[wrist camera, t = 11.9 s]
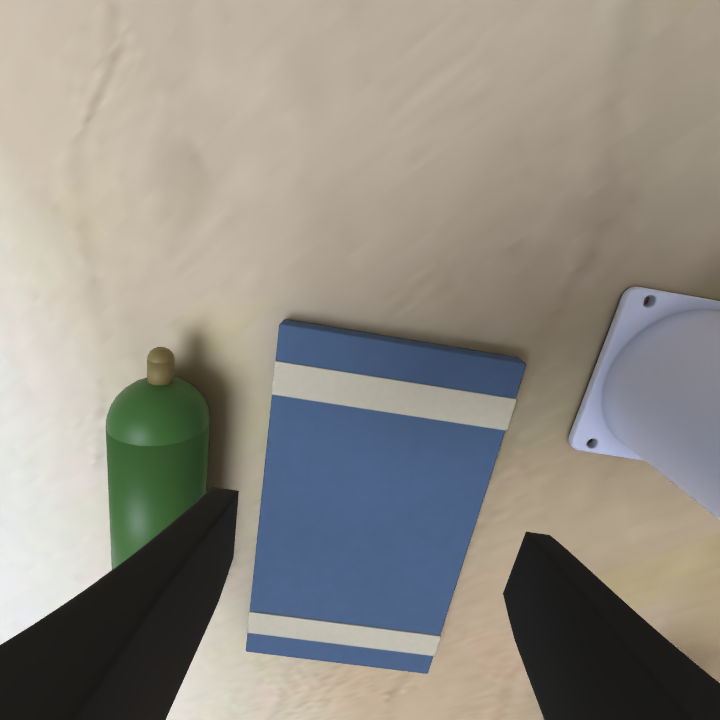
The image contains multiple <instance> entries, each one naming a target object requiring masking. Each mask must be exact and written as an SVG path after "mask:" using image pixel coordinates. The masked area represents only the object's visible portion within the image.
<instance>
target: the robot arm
mask: <svg viewBox="0 0 720 720" xmlns="http://www.w3.org/2000/svg"><path fill="white" fill-rule="evenodd" d="M647 296H649V301H648V303H647V304H646V305H644V304H643V301H644V299H645V297H647ZM590 439H593V441H592V442H591V443H589V444H587V442H588V441H589V440H590ZM568 441H569V444H570V445H571V446H572V447H573V448H574V449H576V450H579V451H586V452H592V453H599V454H605V455H612V456H618V457H625V458H631V459H638V460H644V461H646V462H647V463H648V464H649V465H651V466H652V467H653V468H655V469H656V470H657V471H658V472H660V473H661V474H662V475H663V476H665V477H666V478H667V479H668V480H670V481H671V482H672V483H673V484H675V485H676V486H677V487H678V488H680V489H681V490H682V491H683V492H685V493H686V494H687V495H688V496H690V497H691V498H692V499H693V500H695V501H696V502H697V503H698V504H700V505H701V506H702V507H703V508H705V509H706V510H707V511H708V512H710V513H711V514H712V515H714V516H715V517H716V518H717V519H719V520H720V301H717V300H711V299H705V298H700V297H694V296H688V295H683V294H677V293H671V292H665V291H660V290H654V289H648V288H643V287H631V288H629V289H627V290H626V291H625V292H624V294H623V295H622V298H621V300H620V303H619V306H618V308H617V311H616V313H615V316H614V319H613V321H612V324H611V327H610V329H609V332H608V335H607V337H606V340H605V342H604V345H603V348H602V350H601V353H600V356H599V358H598V361H597V364H596V366H595V369H594V371H593V374H592V377H591V379H590V382H589V385H588V387H587V390H586V393H585V395H584V398H583V400H582V403H581V406H580V408H579V411H578V414H577V416H576V419H575V422H574V424H573V427H572V430H571V432H570V435H569V438H568ZM238 493H239V491H236V490H229V489H222V488H215V487H213V488H212V489H210V490H209V491H208V492H206V493H205V494H204V495H203V496H202V497H201V498H200V499H199V500H197V501H196V502H195V503H194V504H193V505H192V506H191V507H190V508H188V509H187V510H186V511H185V512H184V513H183V514H181V515H180V516H179V517H178V518H177V519H176V520H174V521H173V522H172V523H171V524H170V525H169V526H167V527H166V528H165V529H164V530H163V531H161V532H160V533H159V534H158V535H156V536H155V537H154V538H153V539H151V540H150V541H149V542H148V543H147V544H145V545H144V546H143V547H142V548H140V549H139V550H138V551H137V552H135V553H134V554H133V555H132V556H130V557H129V558H128V559H126V560H125V561H124V562H122V563H121V564H120V565H118V566H117V567H115V568H114V569H113V570H111V571H110V572H109V573H107V574H106V575H105V576H103V577H102V578H101V579H99V580H98V581H97V582H95V583H94V584H93V585H91V586H90V587H88V588H87V589H86V590H84V591H83V592H81V593H80V594H78V595H77V596H76V597H74V598H73V599H71V600H70V601H68V602H67V603H65V604H64V605H62V606H61V607H59V608H58V609H56V610H55V611H53V612H52V613H50V614H49V615H47V616H46V617H44V618H43V619H41V620H40V621H38V622H37V623H35V624H34V625H32V626H30V627H29V628H27V629H26V630H24V631H22V632H21V633H19V634H18V635H16V636H14V637H13V638H11V639H9V640H8V641H6V642H4V643H3V644H1V645H0V720H166V717H167V715H168V713H169V711H170V708H171V706H172V704H173V702H174V700H175V697H176V695H177V693H178V691H179V688H180V686H181V684H182V682H183V680H184V677H185V675H186V673H187V671H188V669H189V666H190V664H191V662H192V660H193V657H194V655H195V653H196V651H197V649H198V646H199V644H200V642H201V640H202V637H203V635H204V633H205V631H206V629H207V626H208V624H209V622H210V620H211V617H212V615H213V613H214V611H215V608H216V606H217V604H218V601H219V599H220V596H221V593H222V590H223V587H224V584H225V581H226V578H227V575H228V572H229V569H230V566H231V563H232V560H233V555H234V542H235V530H236V517H237V505H238ZM503 595H504V599H505V603H506V607H507V612H508V616H509V620H510V624H511V627H512V631H513V635H514V639H515V642H516V644H517V647H518V650H519V653H520V655H521V658H522V661H523V664H524V666H525V669H526V672H527V674H528V677H529V680H530V682H531V685H532V688H533V690H534V693H535V696H536V698H537V701H538V704H539V706H540V709H541V711H542V714H543V717H544V719H545V720H720V683H719V682H717V681H716V680H715V679H714V678H712V677H711V676H710V675H709V674H707V673H706V672H705V671H704V670H702V669H701V668H700V667H699V666H698V665H696V664H695V663H694V662H693V661H692V660H690V659H689V658H688V657H687V656H686V655H685V654H683V653H682V652H681V651H680V650H679V649H677V648H676V647H675V646H674V645H673V644H671V643H670V642H669V641H668V640H667V639H666V638H664V637H663V636H662V635H661V634H660V633H659V632H657V631H656V630H655V629H654V628H653V627H652V626H651V625H649V624H648V623H647V622H646V621H645V620H644V619H643V618H642V617H640V616H639V615H638V614H637V613H636V612H635V611H634V610H633V609H631V608H630V607H629V606H628V605H627V604H626V603H625V602H624V601H623V600H621V599H620V598H619V597H618V596H617V595H616V594H615V593H614V592H613V591H612V590H611V589H609V588H608V587H607V586H606V585H605V584H604V583H603V582H602V581H601V580H600V579H598V578H597V577H596V576H595V575H594V574H593V573H592V572H591V571H590V570H589V569H588V568H587V567H585V566H584V565H583V564H582V563H581V562H580V561H579V560H578V559H577V558H576V557H574V556H573V555H572V554H571V553H570V552H569V551H568V550H567V549H565V548H564V547H563V546H562V545H561V544H560V543H559V542H557V541H556V540H555V539H554V538H552V537H551V536H550V535H545V534H538V533H531V532H526V533H525V536H524V539H523V541H522V544H521V547H520V550H519V552H518V555H517V558H516V560H515V563H514V566H513V568H512V571H511V574H510V576H509V579H508V582H507V584H506V587H505V590H504V592H503Z"/></svg>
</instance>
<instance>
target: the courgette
mask: <svg viewBox="0 0 720 720" xmlns="http://www.w3.org/2000/svg"><path fill="white" fill-rule="evenodd" d="M174 361H175V359H174V355H173V353H172V352H171V351H170V350H169V349H167V348H165V347H157V348H154V349H153V350H151V351H150V353H149V354H148V357H147V378H144V379H141V380H138V381H136V382H134V383H133V384H131V385H129V386H128V387H126V388H125V389H124V390H123V391H122V392H121V393H120V394H119V395H118V396H117V397H116V398H115V400H114V401H113V403H112V404H111V407H110V409H109V412H108V414H107V420H106V442H107V465H108V489H109V512H110V535H111V558H112V570H113V569H114V568H115V567H117V566H118V565H120V564H121V563H122V562H124V561H125V560H126V559H128V558H129V557H130V556H132V555H133V554H134V553H135V552H137V551H138V550H139V549H140V548H142V547H143V546H144V545H145V544H147V543H148V542H149V541H150V540H151V539H153V538H154V537H155V536H156V535H158V534H159V533H160V532H161V531H163V530H164V529H165V528H166V527H167V526H169V525H170V524H171V523H172V522H173V521H174V520H176V519H177V518H178V517H179V516H180V515H181V514H183V513H184V512H185V511H186V510H187V509H188V508H190V507H191V506H192V505H193V504H194V503H195V502H196V501H197V500H199V499H200V498H201V497H202V496H203V495H204V494H205V493H206V484H207V464H208V444H209V424H210V418H209V409H208V406H207V403H206V401H205V399H204V397H203V396H202V394H201V393H200V392H199V391H198V390H197V389H196V388H195V387H194V386H193V385H191V384H189V383H188V382H186V381H184V380H182V379H179V378H175V377H174Z"/></svg>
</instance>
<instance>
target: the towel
mask: <svg viewBox="0 0 720 720" xmlns="http://www.w3.org/2000/svg"><path fill="white" fill-rule="evenodd" d="M525 367H526V364H525V363H524V362H523V361H522V360H520V359H519V358H518V357H512V356H506V355H500V354H493V353H487V352H481V351H475V350H469V349H463V348H457V347H451V346H445V345H438V344H432V343H426V342H420V341H414V340H408V339H402V338H396V337H390V336H384V335H377V334H371V333H365V332H359V331H353V330H347V329H341V328H335V327H329V326H322V325H316V324H310V323H304V322H298V321H292V320H286V319H285V320H283V321H282V322H281V323H280V325H279V333H278V343H277V353H276V361H275V365H274V375H273V385H272V401H271V411H270V420H269V430H268V440H267V449H266V459H265V469H264V478H263V488H262V498H261V508H260V517H259V527H258V537H257V546H256V556H255V566H254V575H253V585H252V595H251V604H250V611H249V619H248V628H247V643H246V651H247V652H255V653H263V654H271V655H279V656H287V657H296V658H304V659H312V660H320V661H328V662H336V663H344V664H352V665H360V666H369V667H377V668H385V669H393V670H401V671H409V672H417V673H425V674H427V673H428V671H429V668H430V665H431V662H432V659H433V656H435V654H436V650H437V647H438V644H439V641H440V638H441V635H440V634H441V631H442V627H443V624H444V621H445V618H446V615H447V612H448V609H449V606H450V602H451V599H452V596H453V593H454V590H455V587H456V584H457V580H458V577H459V574H460V571H461V568H462V565H463V562H464V559H465V555H466V552H467V549H468V546H469V543H470V540H471V537H472V533H473V530H474V527H475V524H476V521H477V518H478V515H479V511H480V508H481V505H482V502H483V499H484V496H485V493H486V490H487V486H488V483H489V480H490V477H491V474H492V471H493V468H494V464H495V461H496V458H497V455H498V452H499V449H500V446H501V443H502V439H503V436H504V433H505V430H506V431H507V429H508V426H509V423H510V420H511V417H512V413H513V410H514V407H515V404H516V401H517V399H516V396H517V392H518V389H519V386H520V383H521V380H522V377H523V374H524V370H525Z"/></svg>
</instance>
